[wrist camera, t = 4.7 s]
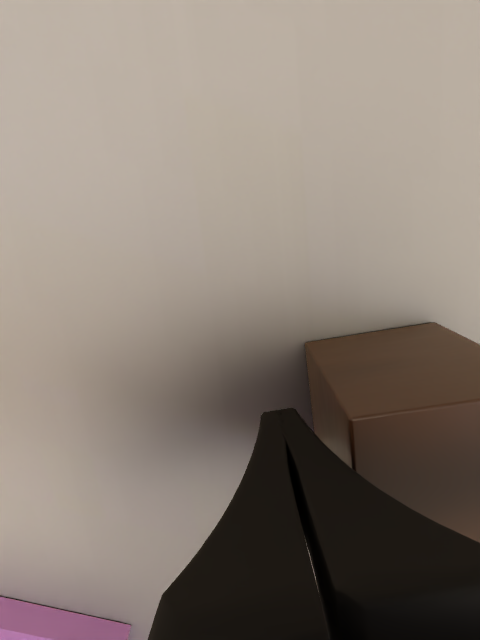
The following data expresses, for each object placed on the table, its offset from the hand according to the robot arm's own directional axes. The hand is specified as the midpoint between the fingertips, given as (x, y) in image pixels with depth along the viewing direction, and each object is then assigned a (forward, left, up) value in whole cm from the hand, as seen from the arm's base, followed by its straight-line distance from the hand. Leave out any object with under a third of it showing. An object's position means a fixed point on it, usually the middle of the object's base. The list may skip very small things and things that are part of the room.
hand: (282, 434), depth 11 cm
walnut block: (+2, -3, -2) cm, 4 cm away
